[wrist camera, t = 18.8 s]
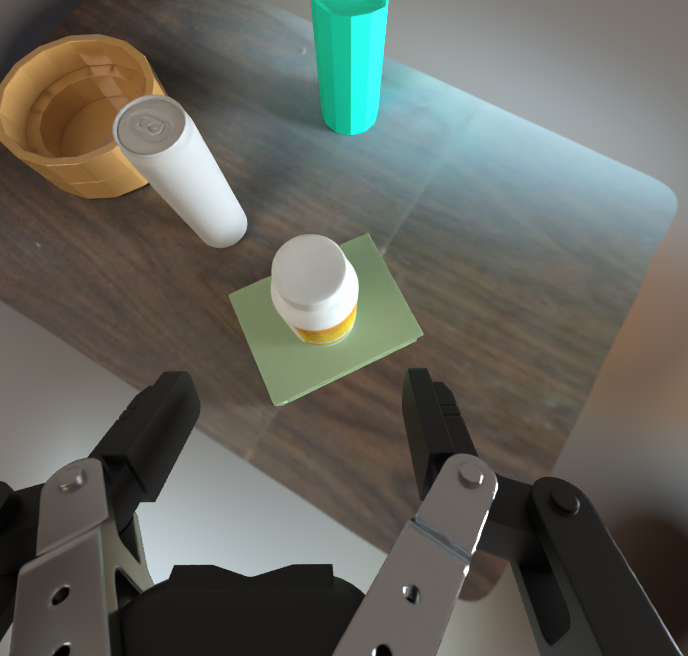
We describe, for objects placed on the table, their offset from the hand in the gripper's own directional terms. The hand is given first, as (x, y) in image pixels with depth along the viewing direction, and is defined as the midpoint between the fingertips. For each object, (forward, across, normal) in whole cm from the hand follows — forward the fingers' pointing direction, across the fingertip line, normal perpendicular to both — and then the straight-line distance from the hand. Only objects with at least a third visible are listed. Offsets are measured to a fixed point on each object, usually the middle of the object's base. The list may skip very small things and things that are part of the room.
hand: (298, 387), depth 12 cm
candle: (+32, -2, -10) cm, 34 cm away
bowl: (+30, +23, -8) cm, 38 cm away
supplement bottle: (+14, 0, +5) cm, 14 cm away
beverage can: (+23, +10, 0) cm, 25 cm away
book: (+16, 0, +7) cm, 17 cm away
